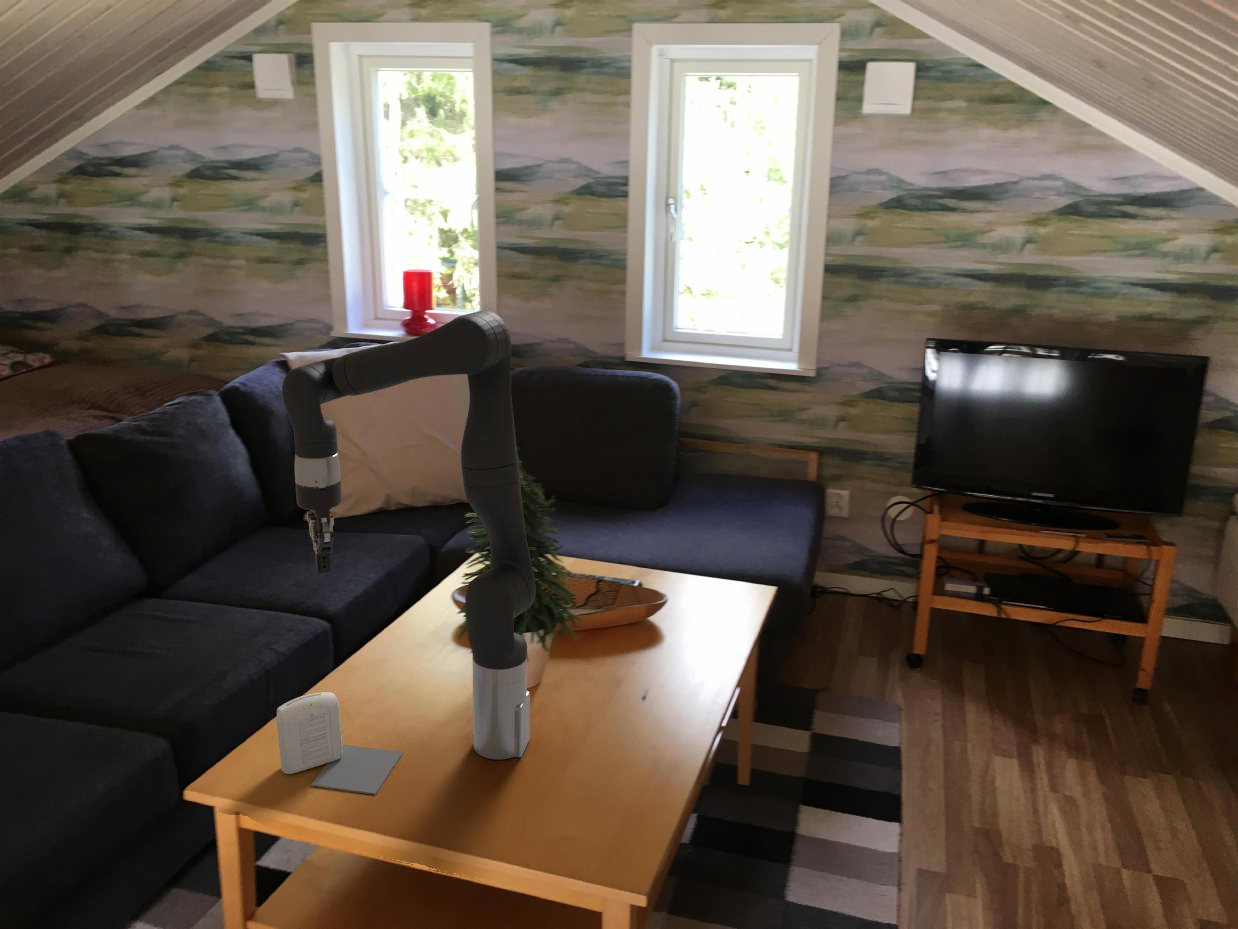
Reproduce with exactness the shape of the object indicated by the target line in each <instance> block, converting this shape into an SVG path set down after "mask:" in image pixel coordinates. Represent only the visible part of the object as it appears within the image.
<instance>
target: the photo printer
mask: <svg viewBox="0 0 1238 929" xmlns="http://www.w3.org/2000/svg"><path fill="white" fill-rule="evenodd" d="M340 715H341V714H340V705H339V702H338V698H337V696H336V695H335V694H334V692H329V691H328V692H326V691H325V692H322V691H321V692H314V693H309V694H306V695H305V694H304V695H302V696H298V697H295V698H293V699H291V700H289V701H287V702H285V703H283V704H282V705H280V706H278V707H277V709H276V729H277V738H278V740H277V741H278V748H279V756H280V766H281V768H280V769H281V771H282V772H283V773H284V774H286V775H293V774H295V773H300V772H301V771H306V770H309V769H314V768H315V767H319V766H322V765H327V763H329V762H332V761H335V760H338V759H340V758H342V756H343V749H342V744H343V739H342V738H343V737H342V730H341V728H342V727H341V716H340Z"/></svg>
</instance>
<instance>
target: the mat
mask: <svg viewBox="0 0 1238 929" xmlns="http://www.w3.org/2000/svg"><path fill="white" fill-rule="evenodd" d="M342 749H343V756H342V758H340V759H338V760H335V761H332V762H329V763H326V764H325V766H324V767H323V769H321V771H320V772H319V774H318V775H317V776H316V777H315V779H314V780H313V781H312V783H311V784H310V787H313V786H316V787H315V788H320V787H326V788H325V789H328V788H330V789H329V790H335V789H337V791H343V792H350V793H360V794H367V795H372V794H373V795H374V796H376V795H377V794H378V792H379V791H380V789H381V788H382V786H383V784H384V783H385V781H386V780H387V779H388V777H389V775H390V774H391V772H392V771H393V769H394V768H395V767H396V765H397V763H398V762H399V760H400V759H401V757H402V755H403V754H404V752H403V751H398V750H388V749H381V748H373V747H366V746H357V745H350V744H343V743H342ZM373 795H372V796H373Z"/></svg>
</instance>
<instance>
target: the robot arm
mask: <svg viewBox="0 0 1238 929" xmlns="http://www.w3.org/2000/svg"><path fill="white" fill-rule="evenodd" d="M510 335H511V334H510V331H509V328H508V327H507V324H506V323H505V322H504V320H503V318H501V317H500V316H499V315H498V314H497V313H495V312H493V311H489V310H479V311H474V312H471V313H467V314H462V315H460V316H457V317H455V318H453V319H452V320H450V321H449V322H447V323H445V324H443V325H440V326H439V327H437V328H435V329H433V330H431V331H429V332H427V333H424V334H422V335H420V336H416V337H414V338H412V339H411V338H410V339H408V340H405V341H401V342H399V341H398V342H394V343H393V342H392V343H387V344H382V345H376V346H372V347H368V348H364V349H360V350H356V351H353V352H349V353H347V354H343V355H342V356H337V357H333V358H326V359H322V360H318V361H314V362H311V363H308V364H305V365H302V366H298V367H295V368H292V369H291V370H288V372H287V373H286V374H285V376H284V378H283V382H282V387H281V397H282V401H283V404H284V407H285V409H286V410H285V411H286V412H287V417H288V419H289V422H290V424H291V427H292V430H293V437H294V438H293V440H294V478H295V479H294V483H295V495H296V496H295V498H296V504H297V505H296V506H298V507H299V508H301V509H303V510H307V512H306V518H307V519H306V520H307V522H308V527H309V528H308V529H309V536H310V541H311V544H313V546H312V548H313V551H314V554H315V555H314V556H315V568H316V571H317V573H318V574H325V573H329V572H330V571H331V556H330V554H331V553H333V551H334V544H335V538H336V537H335V536H336V533H335V531H334V529H333V527H334V525H335V518H334V515H333V514H332V512H331V509H333V508H336V507H338V506H339V505H340V504H341V503H342V502H343V498H342V482H341V481H342V480H341V478H342V477H341V464H340V463H341V462H340V458H339V452H338V433H337V431H338V430H337V426H336V424H335V422H334V421H333V420H332V419H331V418H328V417H323V416H324V415H323V413H322V408H321V407H322V406H321V405H323V404H326V403H328V402H331V401H334V400H335V401H336V400H338V399H341V398H344V397H349V396H351V397H355V396H360V395H365V394H370V393H372V392H377V391H380V390H385V389H388V388H392V387H394V386H398V385H400V384H404V383H407V382H410V381H412V380H413V381H414V380H417V379H422V378H429V377H437V376H439V377H440V376H454V375H455V376H457V375H467V382H468V388H469V390H468V392H469V403H468V404H469V406H468V411H467V417H466V422H465V427H464V431H463V436H462V441H461V448H460V461H461V462H460V463H461V464H460V466H461V473H462V474H461V475H462V481H463V488H464V493H465V496H466V499H467V501H468V503H469V505H470V507H471V508H472V510H473V511H474V513H475V514H476V516H477V517H478V519H479V520H480V522H481V523H482V525H483V527H484V529H485V531H486V534H487V538H488V543H489V549H490V550H489V552H490V568H489V569H486V570H485V571H484V572H482V573H481V574H479V575H477V576H476V577H474V578H473V579H471V581H470V582H469V584H468V585H467V588H466V592H465V619H466V620H465V622H466V634H467V641H468V644H469V647H470V649H471V651H472V652H471V653H472V721H473V722H472V723H473V724H472V727H473V730H472V732H473V734H472V740H473V750H474V752H476V753H477V754H478V755H479V756H481V757H483V758H486V759H490V760H506V759H507V760H508V759H511V758H522V757H523V755H524V752H525V750H526V748H527V745H528V744H529V742H530V738H531V736H530V732H531V725H530V724H531V707H530V706H531V691H528V643H527V641H526V639H525V637H523V636H522V635H521V634H519V633H516V632H515V629H514V628H515V627H514V626H515V625H514V624H515V623H514V618H516V617H517V616H519V615H520V614H522V613H523V612H524V611H525V612H527V610H528V609H529V608H530V607H531V606H532V604H533V603H534V601H535V598H536V593H537V592H536V591H537V586H536V578H535V573H534V568H533V564H532V563H533V562H532V559H531V558H532V557H531V553H530V549H529V548H530V547H529V544H528V539H527V532H526V524H525V523H526V522H525V516H524V514H525V513H524V508H523V507H524V505H523V500H522V488H521V476H520V475H521V474H520V473H521V472H520V464H519V454H518V447H517V441H516V440H517V439H516V428H515V419H514V418H515V417H514V411H513V401H512V400H513V398H512V396H513V395H512V339H511V336H510Z"/></svg>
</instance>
